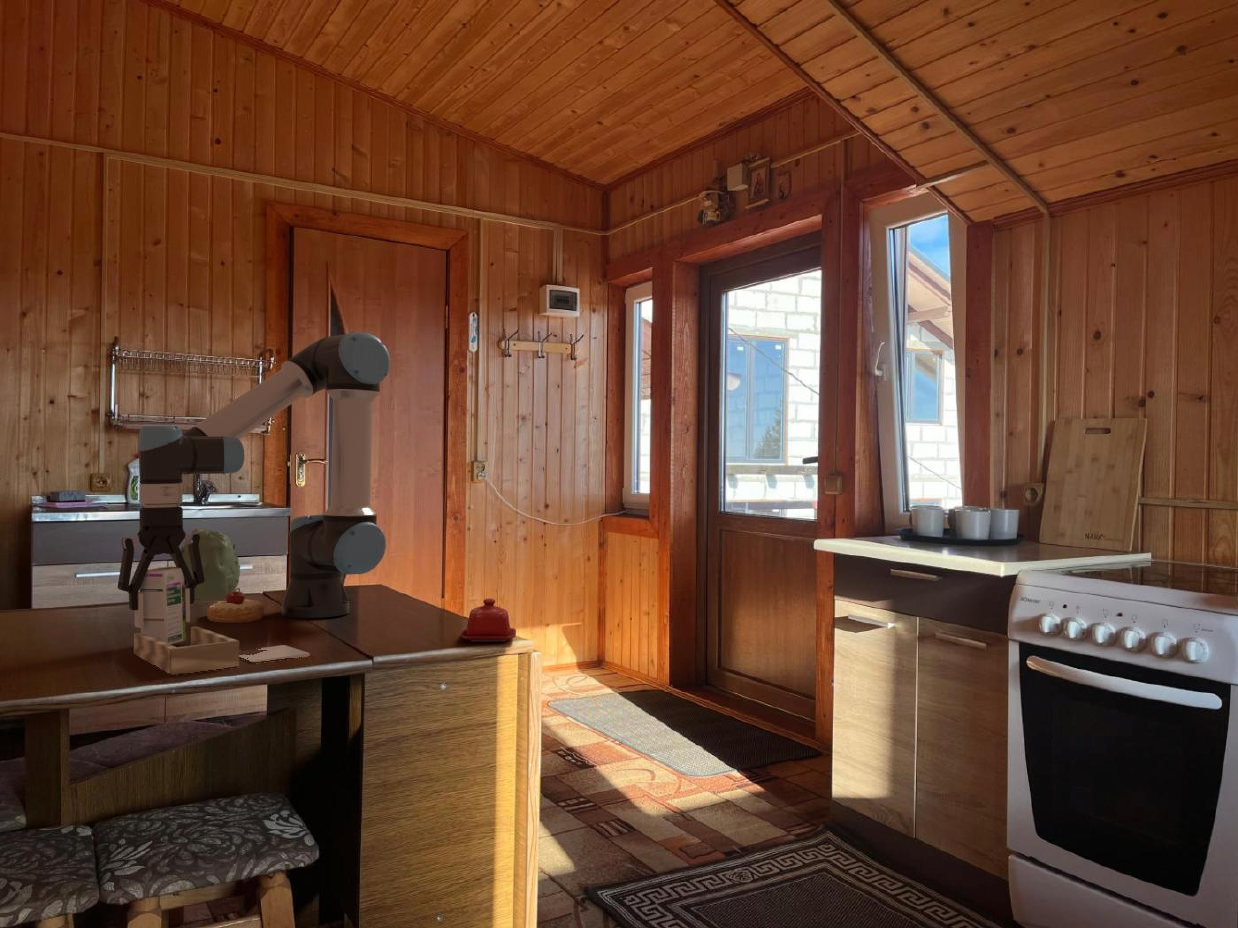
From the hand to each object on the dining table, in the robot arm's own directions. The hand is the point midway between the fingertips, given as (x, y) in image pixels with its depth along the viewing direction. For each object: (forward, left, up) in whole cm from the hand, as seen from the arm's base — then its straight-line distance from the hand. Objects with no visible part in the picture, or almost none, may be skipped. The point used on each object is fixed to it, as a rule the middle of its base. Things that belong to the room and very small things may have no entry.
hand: (162, 623), depth 181 cm
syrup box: (0, 0, -4) cm, 4 cm away
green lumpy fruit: (-53, +28, -6) cm, 60 cm away
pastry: (-21, +22, -6) cm, 31 cm away
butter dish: (+28, +57, -6) cm, 64 cm away
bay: (+13, 0, -6) cm, 14 cm away
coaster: (+17, +14, -6) cm, 22 cm away
